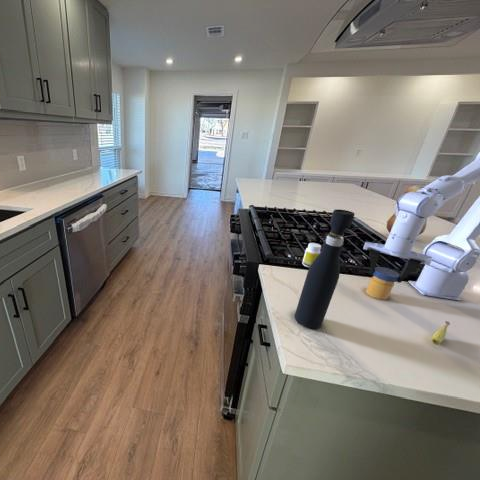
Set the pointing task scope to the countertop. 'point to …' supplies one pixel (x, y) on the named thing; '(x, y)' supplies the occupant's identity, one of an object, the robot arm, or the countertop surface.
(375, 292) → the jam jar
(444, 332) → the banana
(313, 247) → the supplement bottle
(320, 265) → the black water bottle
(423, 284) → the robot arm
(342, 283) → the countertop surface
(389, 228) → the butternut squash
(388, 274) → the jar lid
